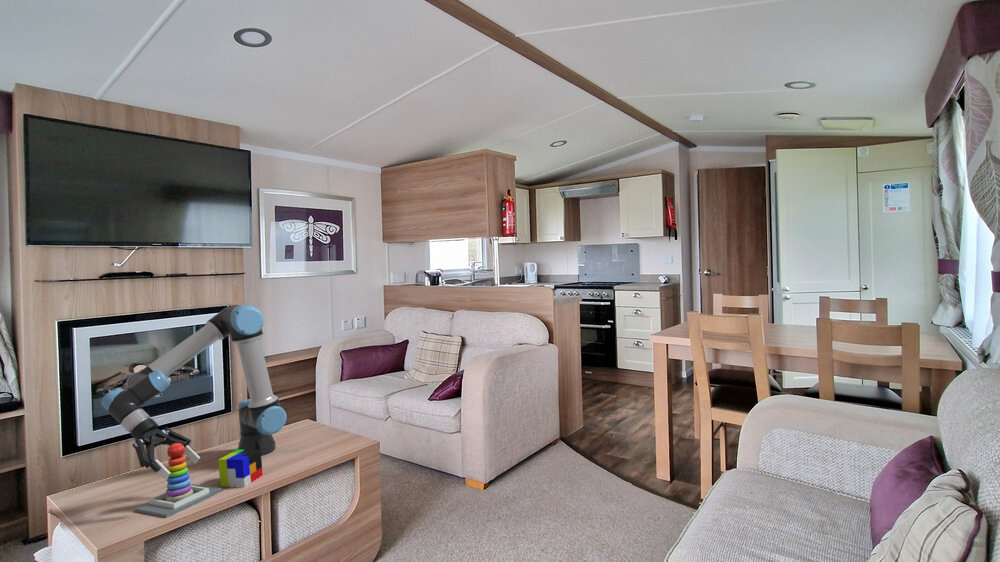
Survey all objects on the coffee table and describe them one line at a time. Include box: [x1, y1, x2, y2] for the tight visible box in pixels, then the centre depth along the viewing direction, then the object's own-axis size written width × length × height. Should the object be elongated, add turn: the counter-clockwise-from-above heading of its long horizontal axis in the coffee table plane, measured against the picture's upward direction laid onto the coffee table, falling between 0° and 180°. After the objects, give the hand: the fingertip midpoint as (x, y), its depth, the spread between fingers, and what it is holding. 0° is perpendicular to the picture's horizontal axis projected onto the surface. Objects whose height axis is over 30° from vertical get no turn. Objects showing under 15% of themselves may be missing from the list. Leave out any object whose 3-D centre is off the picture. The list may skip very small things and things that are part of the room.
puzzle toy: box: [217, 449, 264, 488], centre depth 193 cm, size 10×10×10 cm
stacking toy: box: [165, 443, 193, 502], centre depth 178 cm, size 8×8×19 cm
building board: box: [134, 483, 223, 519], centre depth 178 cm, size 20×16×2 cm
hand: (183, 468), depth 178 cm, fingers open, 13 cm apart
